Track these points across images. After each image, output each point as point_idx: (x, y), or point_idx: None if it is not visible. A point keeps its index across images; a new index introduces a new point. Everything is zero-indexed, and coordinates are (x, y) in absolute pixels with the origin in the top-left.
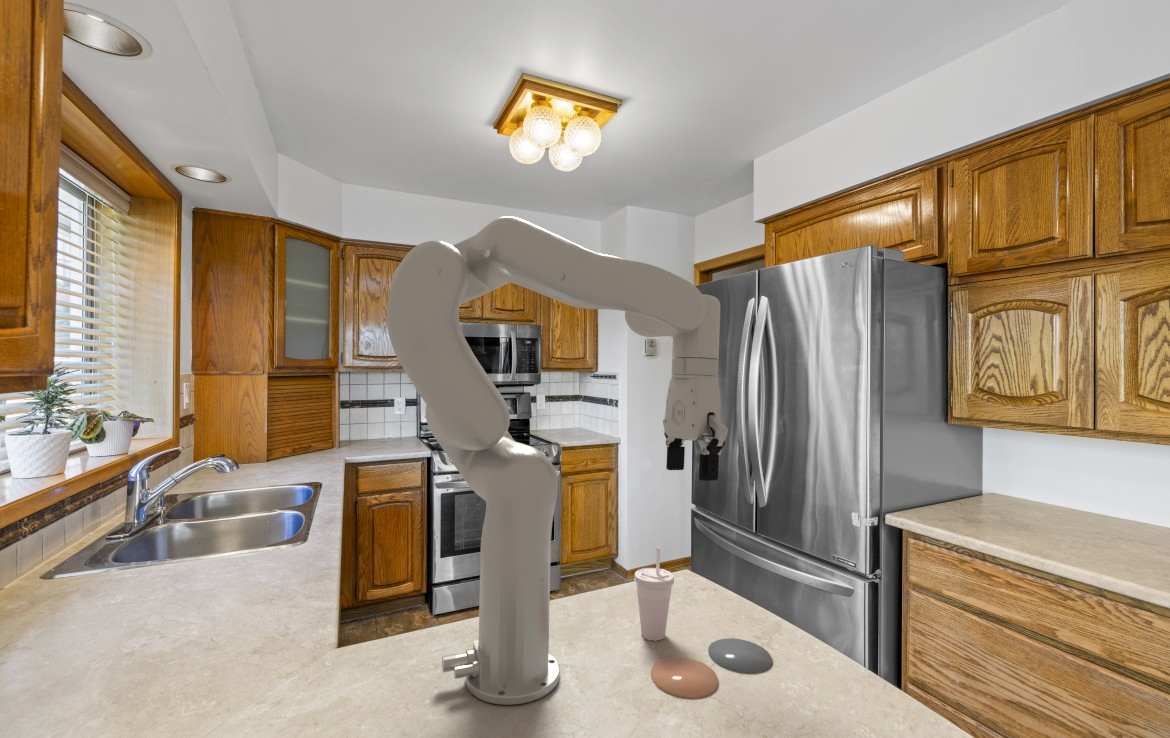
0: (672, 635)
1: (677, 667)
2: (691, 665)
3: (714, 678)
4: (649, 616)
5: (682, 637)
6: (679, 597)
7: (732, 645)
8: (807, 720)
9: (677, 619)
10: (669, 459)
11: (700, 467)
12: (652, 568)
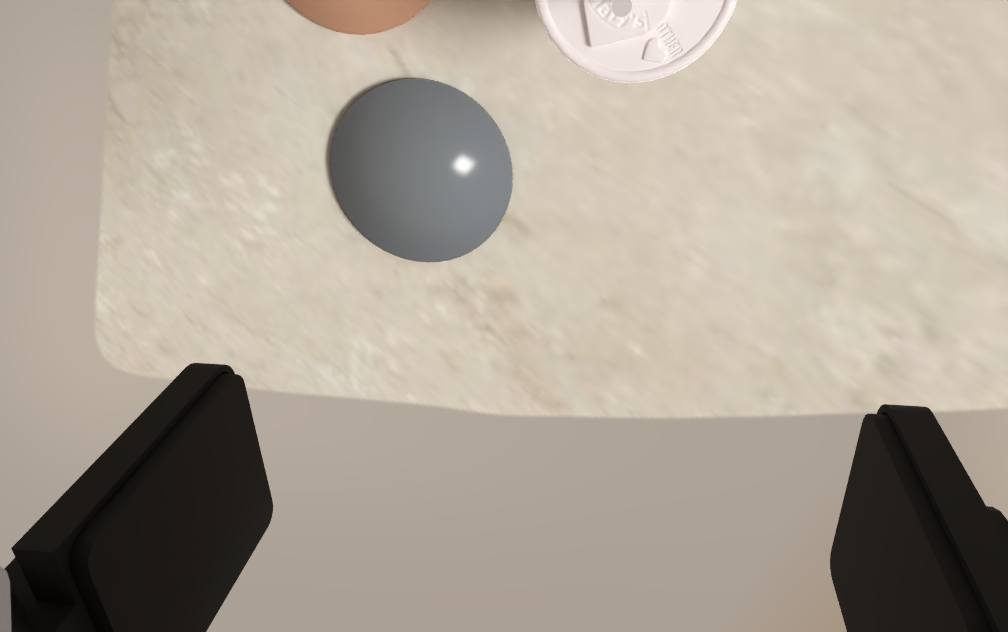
0: None
1: None
2: None
3: (310, 9)
4: None
5: None
6: (874, 241)
7: (465, 186)
8: (132, 136)
9: (711, 126)
10: (904, 493)
11: (132, 434)
12: (720, 14)
